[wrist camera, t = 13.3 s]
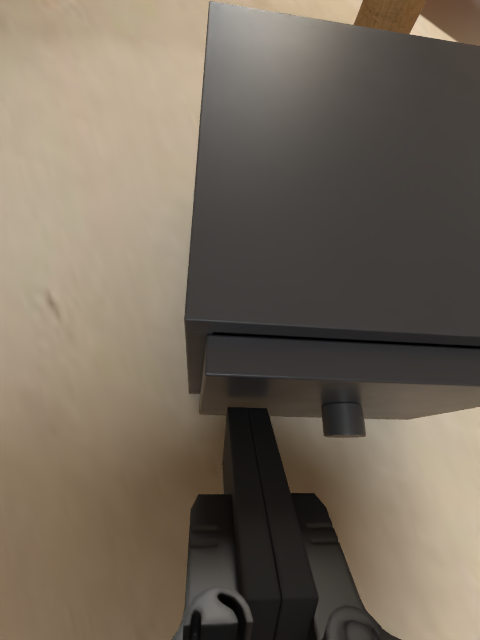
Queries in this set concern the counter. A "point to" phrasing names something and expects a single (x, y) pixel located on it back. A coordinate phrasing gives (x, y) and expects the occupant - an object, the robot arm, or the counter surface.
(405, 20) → the mortar and pestle
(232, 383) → the pull-out drawer box
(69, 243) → the counter surface
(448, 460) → the counter surface
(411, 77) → the small drawer cabinet
